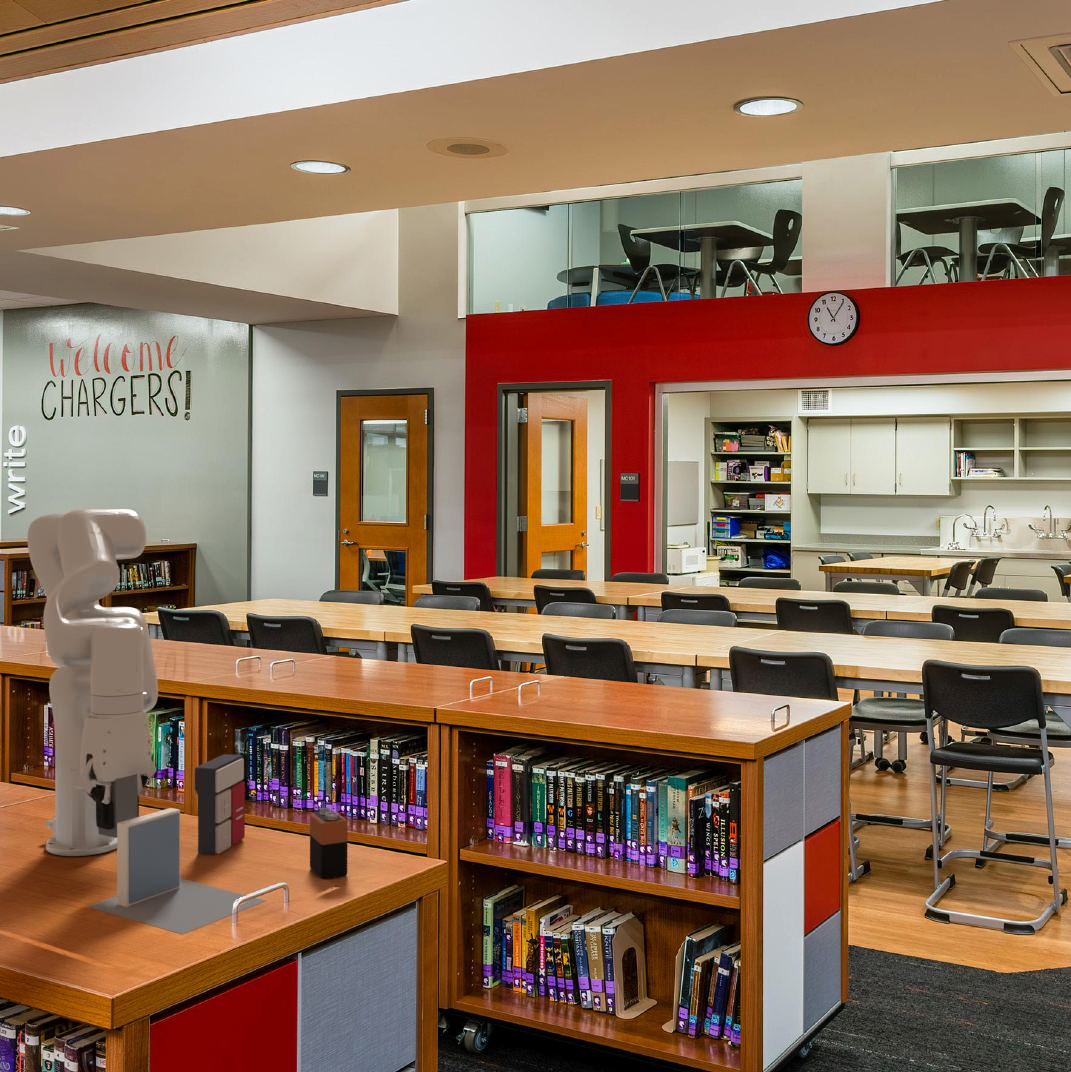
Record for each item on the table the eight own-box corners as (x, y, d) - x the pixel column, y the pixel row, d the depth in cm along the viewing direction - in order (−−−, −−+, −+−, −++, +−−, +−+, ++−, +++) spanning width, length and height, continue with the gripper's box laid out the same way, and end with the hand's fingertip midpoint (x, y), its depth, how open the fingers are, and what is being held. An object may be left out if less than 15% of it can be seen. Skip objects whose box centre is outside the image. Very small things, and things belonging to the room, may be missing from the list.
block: (98, 833, 179) (98, 774, 178) (120, 827, 182) (119, 769, 182) (115, 837, 177) (115, 778, 176) (137, 831, 180) (137, 773, 180)
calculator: (218, 858, 196) (218, 769, 195) (194, 856, 197) (194, 767, 196) (247, 839, 207) (247, 754, 206) (224, 837, 208) (224, 753, 207)
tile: (117, 904, 172) (117, 822, 172) (170, 885, 181) (170, 807, 180) (128, 907, 171) (127, 825, 171) (181, 887, 180) (181, 809, 179)
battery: (321, 880, 185) (322, 817, 185) (308, 868, 191) (309, 807, 191) (348, 876, 187) (348, 814, 187) (334, 864, 193) (335, 804, 193)
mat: (86, 909, 171) (86, 906, 171) (172, 879, 185) (172, 876, 185) (182, 937, 161) (182, 934, 161) (266, 903, 175) (266, 900, 175)
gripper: (144, 694, 188) (145, 808, 188) (53, 710, 174) (54, 833, 174) (177, 699, 184) (177, 815, 184) (86, 715, 170) (87, 841, 170)
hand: (117, 823), depth 179 cm, fingers closed on block, 4 cm apart
